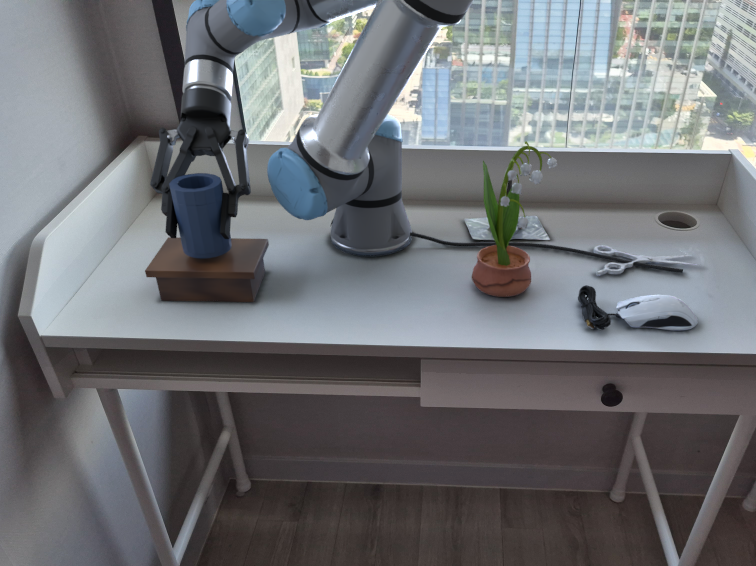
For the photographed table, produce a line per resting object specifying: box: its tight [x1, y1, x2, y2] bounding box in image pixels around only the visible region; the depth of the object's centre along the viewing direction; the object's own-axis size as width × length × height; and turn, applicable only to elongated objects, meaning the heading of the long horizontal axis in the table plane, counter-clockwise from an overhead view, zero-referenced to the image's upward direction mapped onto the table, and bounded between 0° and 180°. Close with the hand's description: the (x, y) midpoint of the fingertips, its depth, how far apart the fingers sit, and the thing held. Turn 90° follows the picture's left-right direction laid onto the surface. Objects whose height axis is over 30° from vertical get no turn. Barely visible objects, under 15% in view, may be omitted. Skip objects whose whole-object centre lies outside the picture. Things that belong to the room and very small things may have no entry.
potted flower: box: [471, 140, 559, 298], centre depth 110 cm, size 12×10×25 cm
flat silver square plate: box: [463, 179, 551, 241], centre depth 131 cm, size 15×10×13 cm
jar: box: [169, 172, 232, 259], centre depth 109 cm, size 8×8×11 cm
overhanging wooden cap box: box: [144, 236, 270, 303], centre depth 114 cm, size 17×12×6 cm
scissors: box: [593, 245, 700, 277], centre depth 125 cm, size 11×1×20 cm
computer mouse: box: [577, 284, 699, 331], centre depth 108 cm, size 10×18×4 cm, turn 88°
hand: (197, 235), depth 107 cm, fingers closed on jar, 8 cm apart
